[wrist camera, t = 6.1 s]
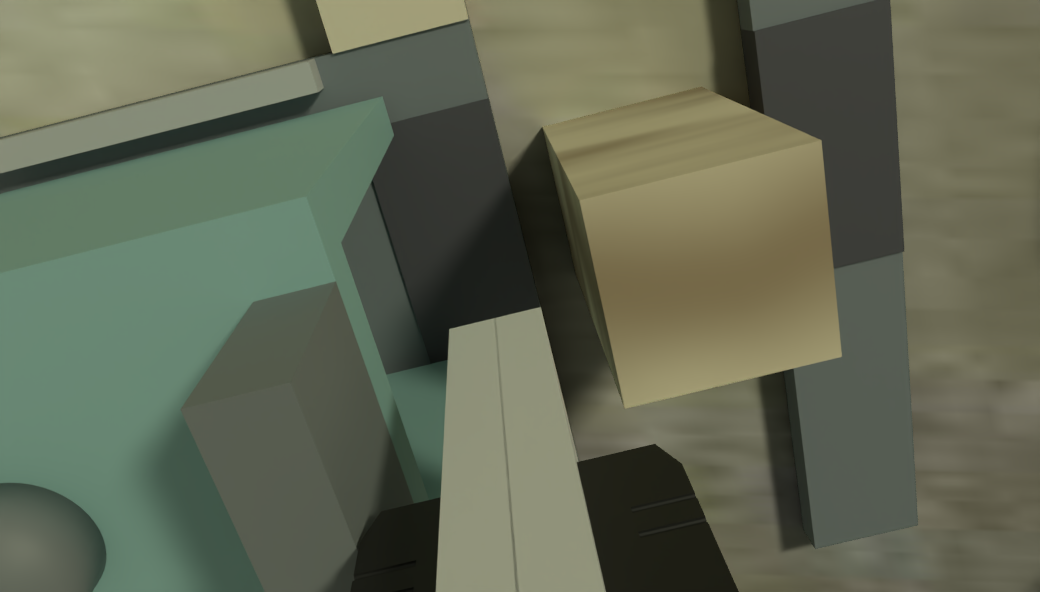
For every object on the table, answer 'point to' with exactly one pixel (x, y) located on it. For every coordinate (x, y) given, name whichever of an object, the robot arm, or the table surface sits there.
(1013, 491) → the table surface
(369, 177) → the teal cover
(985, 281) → the table surface
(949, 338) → the table surface
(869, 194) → the puzzle board
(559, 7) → the table surface
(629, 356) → the maple block
